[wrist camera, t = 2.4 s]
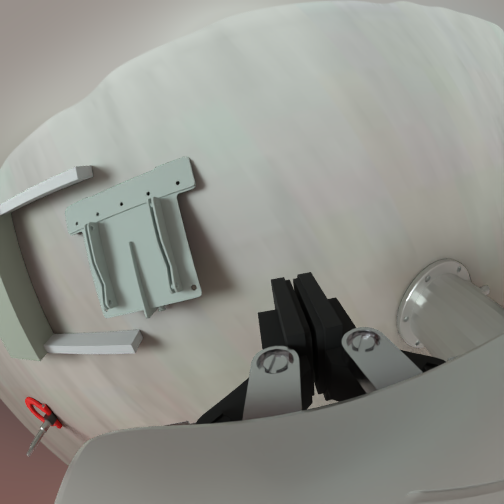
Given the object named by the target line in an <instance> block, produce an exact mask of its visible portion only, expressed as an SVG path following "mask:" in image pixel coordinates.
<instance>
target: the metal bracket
mask: <svg viewBox="0 0 504 504" xmlns="http://www.w3.org/2000/svg"><path fill="white" fill-rule="evenodd" d="M178 181H179V182H180V184H179V185H177V184H176V183H177V182H178ZM195 187H196V183H195V179H194V175H193V171H192V167H191V162H190V159H189V158H188V157H182V158H179V159H176V160H173V161H171V162H168V163H165V164H163V165H160V166H157V167H155V169H154V170H152V171H150V172H147V173H145V174H142V175H140V176H137V177H135V178H132V179H130V180H127V181H125V182H123V183H120V184H118V185H116V186H114V187H111V188H109V189H107V190H105V191H103V192H100V193H98V194H96V195H94V196H92V197H90V198H88V197H86V198H84V199H82V200H80V201H78V202H76V203H74V204H72V205H70V206H69V207H67V209H66V211H65V216H66V222H67V229H68V233H69V234H70V235H75V234H77V233H79V232H82V233H83V236H84V242H85V246H86V251H87V256H88V260H89V264H90V268H91V273H92V276H93V280H94V284H95V288H96V291H97V295H98V298H99V301H100V305H101V308H102V311H103V314H104V316H105V317H106V318H110V317H114V316H119V315H124V314H128V313H133V312H137V311H141V310H144V314H145V317H146V318H150V317H151V315H152V314H153V313H154V312H155V311H156V309H157V308H159V310H158V311H163V310H165V309H166V308H165V307H164V306H165V305H167V304H172V303H176V302H180V301H184V300H188V299H192V298H196V297H200V296H201V295H202V290H201V287H200V283H199V280H198V276H197V273H196V269H195V266H194V262H193V259H192V255H191V251H190V248H189V244H188V240H187V236H186V232H185V228H184V225H183V221H182V217H181V213H180V208H179V204H178V200H177V196H178V194H180V193H183V192H186V191H189V190H192V189H194V188H195ZM148 192H150V195H149V196H148V195H147V193H148ZM121 203H123V205H122V206H121ZM97 213H99V216H97ZM77 222H78V225H77ZM192 285H196V287H197V289H196V290H192V288H191V286H192ZM105 309H106V310H107V309H108V311H106V310H105Z"/></svg>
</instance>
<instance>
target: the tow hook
mask: <svg viewBox="0 0 504 504" xmlns="http://www.w3.org/2000/svg"><path fill="white" fill-rule="evenodd" d="M25 403H26V405H27V407H28V408H29V409H30V411H31V412H32V413H33V414H34V415H35V416H36V417H37V418H38V419H40V420H41V421H42V422H43V424H42V425H41V427H40V430H39V432H38V433H37V435H36V437H35V438H34V440H33V442H32V443H31V445H30V449H29V451H28V452H27V455H28V456H30V455H31V453H32V451H33V450H35V448H36V447H37V445H38V443H39V442H40V440H41V438H42V437H43V435H44V433H46V432H47V430H48V429H49V427H50V426H57V428H61V427H62V424H61V423H60V422H59V421H58V420H57V418H56V416H55V415H54V414H53V413H52V411H50V409H49V408H48V407H47V405H46V404H40V403H39V402H38V401H36V400H35V399H33V398H30V397H27V398H26V399H25ZM32 404H33V405H35V406H36V407H38V408H39V409H40V410H42V411H43V412H45V413H46V415H45V416H44V417H42V416H41V415H40V414H39V413H37V411H36V410H35V409H34V408H33V406H32Z"/></svg>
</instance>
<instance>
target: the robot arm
mask: <svg viewBox="0 0 504 504" xmlns="http://www.w3.org/2000/svg"><path fill="white" fill-rule="evenodd" d="M293 284H294V289H293V287H292V284H291V282H290V280H285V279H284V277H283V278H277V279H272V280H271V285H272V291H273V298H274V304H275V310H271V311H265V312H260V313H258V318H259V325H260V333H261V341H262V348H263V350H261V351H260V352H258V353H257V354H256V355H255V356H254V357H253V360H252V362H251V369H250V375H249V378H248V379H247V380H246V381H244V382H243V383H242V384H241V385H240V386H238V387H237V388H236V389H235V390H234V391H232V392H231V393H230V394H229V395H227V396H226V397H225V398H224V399H223V400H221V401H220V402H219V403H217V404H216V405H215V406H214V407H212V408H211V409H210V410H209V411H207V412H206V413H205V414H203V415H202V416H201V417H200V418H199V419H198V421H197V422H196V423H191V424H190V423H189V421H185V422H180V423H175V424H170V425H165V426H149V427H136V428H129V429H122V430H117V431H113V432H109V433H105V434H102V435H99V436H96V437H94V438H92V439H90V440H88V441H87V442H85V443H84V444H83V445H82V446H81V448H80V449H79V450H78V452H77V453H76V455H75V456H74V458H73V460H72V461H71V463H70V465H69V467H68V469H67V471H66V474H65V476H64V478H63V481H62V483H61V486H60V489H59V492H58V494H57V497H56V501H55V503H54V504H504V308H503V307H502V306H500V305H499V304H498V303H496V302H495V301H494V300H492V299H491V298H489V297H488V296H487V295H488V294H489V292H490V289H489V287H488V285H484V286H482V287H480V288H478V287H477V286H475V285H474V284H473V283H471V279H470V276H469V273H468V271H467V269H466V267H465V266H464V265H463V264H461V263H459V262H458V261H456V260H453V259H442V260H439V261H436V262H434V263H432V264H430V265H429V266H428V267H426V268H425V269H424V270H423V271H422V272H421V273H420V274H419V275H418V276H417V277H416V278H415V279H414V281H413V282H412V283H411V284H410V286H409V288H408V289H407V291H406V292H405V294H404V297H403V299H402V301H401V304H400V307H399V310H398V316H397V328H398V332H399V334H400V336H401V338H402V339H403V340H404V341H405V343H406V344H408V345H409V346H411V347H414V348H423V347H425V348H426V349H427V350H428V351H429V353H430V354H431V355H432V356H433V357H431V356H426V355H421V354H416V353H412V352H407V351H403V350H399V349H398V348H397V347H396V346H395V345H394V344H393V343H392V342H391V341H390V340H389V339H388V338H387V337H386V336H385V335H384V334H383V333H381V332H380V331H378V330H376V329H374V328H369V327H359V328H356V327H355V325H354V324H353V322H352V321H351V319H350V318H349V316H348V315H347V313H346V312H345V310H344V309H343V307H342V306H341V304H340V303H339V301H338V300H337V298H331V299H327V298H326V296H325V294H324V293H323V291H322V289H321V288H320V286H319V285H318V283H317V281H316V280H315V278H314V277H313V275H312V273H311V272H309V273H304V274H299V275H298V276H297V278H296V279H293ZM314 383H315V386H316V389H317V392H318V394H322V393H323V394H324V397H325V400H326V401H328V400H332V399H333V400H336V401H339V402H337V403H333V404H329V405H325V406H321V407H317V408H312V409H308V410H307V408H308V407H309V406H310V405H311V404H312V396H313V395H314Z"/></svg>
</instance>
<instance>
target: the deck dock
mask: <svg viewBox="0 0 504 504" xmlns="http://www.w3.org/2000/svg"><path fill="white" fill-rule="evenodd" d="M91 177H93V172H92V167H91V166H78V167H74V168H71V169H69V170H67V171H64V172H62V173H60V174H58V175H56V176H53V177H51V178H49V179H47V180H45V181H43V182H41V183H39V184H37V185H35V186H33V187H31V188H29V189H27V190H25V191H23V192H21V193H19V194H18V195H16V196H14V197H12V198H10V199H9V200H7V201H5V202H3V203H2V204H0V338H1V340H2V342H3V344H4V346H5V347H6V349H7V351H8V353H9V355H10V356H11V358H18V359H26V360H34V361H41V360H42V358H43V357H44V356H45V355H46V354H47V353H64V354H129V353H136V351H137V349H138V347H139V345H140V343H141V341H142V339H143V337H142V334H141V332H140V330H128V331H113V332H95V333H70V334H54V333H53V331H52V329H51V327H50V325H49V323H48V321H47V319H46V317H45V315H44V312H43V310H42V308H41V306H40V303H39V301H38V298H37V296H36V294H35V291H34V289H33V286H32V283H31V281H30V278H29V275H28V272H27V269H26V266H25V263H24V260H23V257H22V254H21V251H20V247H19V244H18V240H17V237H16V233H15V229H14V225H13V221H12V216H11V212H13V211H15V210H17V209H19V208H21V207H23V206H25V205H27V204H29V203H31V202H33V201H35V200H37V199H40V198H42V197H44V196H46V195H49V194H51V193H53V192H56V191H58V190H60V189H63V188H65V187H68V186H70V185H73V184H75V183H78V182H81V181H83V180H86V179H88V178H91Z"/></svg>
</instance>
